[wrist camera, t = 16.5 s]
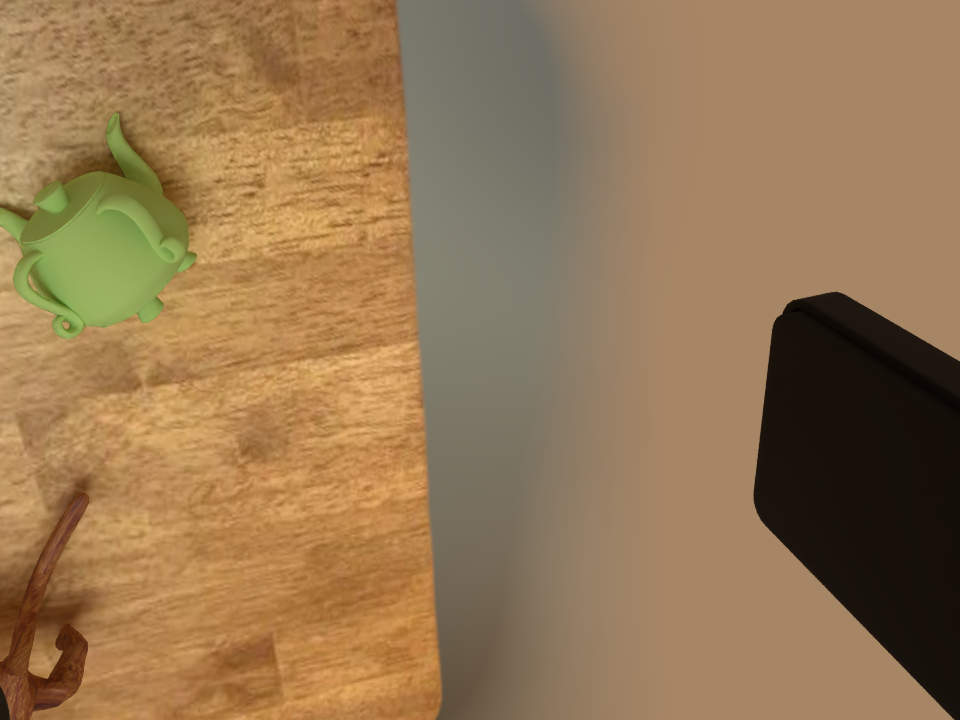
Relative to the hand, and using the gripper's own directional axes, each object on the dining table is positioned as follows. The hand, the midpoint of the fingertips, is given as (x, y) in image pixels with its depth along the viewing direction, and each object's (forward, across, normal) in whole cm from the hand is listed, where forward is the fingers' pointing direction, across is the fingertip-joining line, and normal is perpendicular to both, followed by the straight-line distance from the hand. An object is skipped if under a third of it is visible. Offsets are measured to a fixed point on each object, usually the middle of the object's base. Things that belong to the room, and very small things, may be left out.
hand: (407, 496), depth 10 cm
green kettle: (+28, +5, +5) cm, 29 cm away
